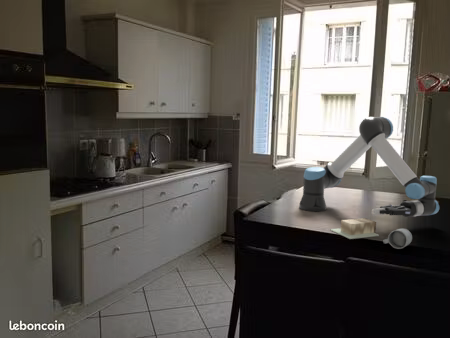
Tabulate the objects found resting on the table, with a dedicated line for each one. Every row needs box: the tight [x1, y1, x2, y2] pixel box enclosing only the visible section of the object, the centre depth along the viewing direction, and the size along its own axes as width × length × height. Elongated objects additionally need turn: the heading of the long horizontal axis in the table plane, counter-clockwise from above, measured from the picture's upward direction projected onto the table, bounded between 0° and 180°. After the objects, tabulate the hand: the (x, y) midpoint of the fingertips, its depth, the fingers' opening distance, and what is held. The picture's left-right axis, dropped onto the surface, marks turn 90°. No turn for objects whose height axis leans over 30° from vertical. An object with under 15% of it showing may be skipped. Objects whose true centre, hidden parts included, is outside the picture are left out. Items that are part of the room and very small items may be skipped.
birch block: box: [340, 217, 377, 235], centre depth 185 cm, size 5×7×14 cm
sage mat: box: [330, 227, 380, 240], centre depth 185 cm, size 16×14×1 cm
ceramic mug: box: [382, 228, 413, 250], centre depth 168 cm, size 11×8×8 cm
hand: (372, 211), depth 187 cm, fingers closed
